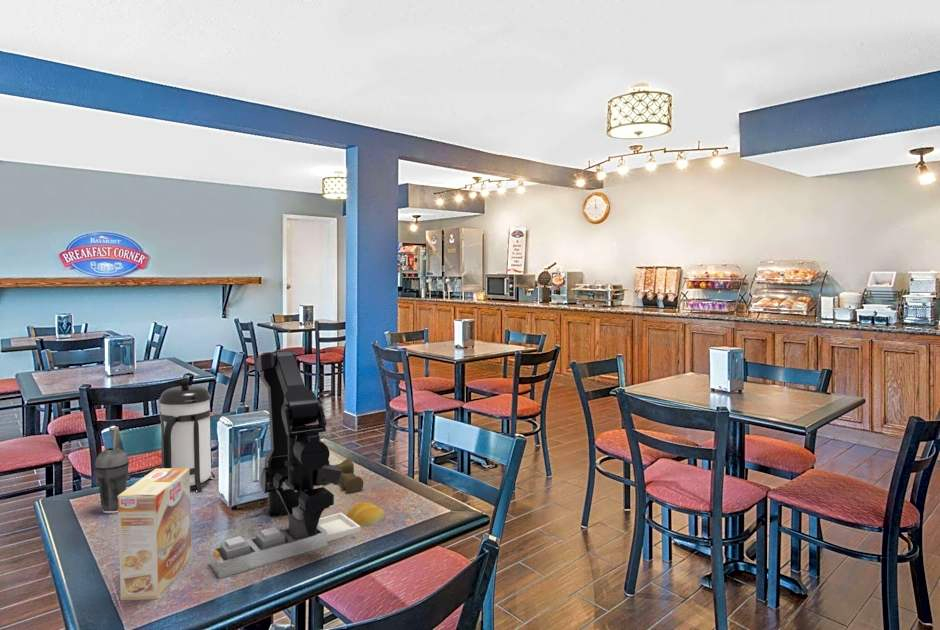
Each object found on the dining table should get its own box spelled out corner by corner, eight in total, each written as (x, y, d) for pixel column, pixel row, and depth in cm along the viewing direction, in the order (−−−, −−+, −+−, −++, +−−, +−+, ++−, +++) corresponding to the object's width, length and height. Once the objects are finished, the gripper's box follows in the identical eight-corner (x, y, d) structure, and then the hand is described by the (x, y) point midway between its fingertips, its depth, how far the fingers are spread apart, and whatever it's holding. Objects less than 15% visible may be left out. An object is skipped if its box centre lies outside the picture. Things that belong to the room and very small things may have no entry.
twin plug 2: (256, 553, 120) (255, 530, 119) (277, 547, 122) (276, 524, 122) (263, 562, 116) (263, 537, 116) (284, 555, 119) (284, 531, 119)
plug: (289, 544, 124) (288, 507, 123) (308, 538, 127) (308, 502, 126) (297, 551, 121) (296, 514, 120) (317, 545, 123) (316, 509, 123)
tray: (302, 530, 132) (302, 522, 132) (341, 519, 138) (341, 512, 138) (320, 546, 124) (320, 537, 124) (360, 534, 130) (360, 526, 130)
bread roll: (361, 532, 132) (361, 515, 131) (342, 519, 138) (342, 503, 138) (392, 522, 137) (392, 506, 137) (372, 510, 144) (372, 495, 143)
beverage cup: (88, 513, 140) (86, 432, 139) (117, 502, 147) (114, 425, 145) (109, 518, 137) (106, 435, 136) (137, 507, 144) (135, 428, 143)
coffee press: (144, 486, 158) (141, 378, 156) (204, 472, 170) (202, 371, 168) (166, 504, 146) (163, 387, 144) (229, 488, 158) (227, 379, 156)
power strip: (209, 566, 115) (209, 546, 115) (313, 536, 129) (313, 518, 129) (219, 581, 110) (219, 560, 109) (327, 547, 123) (327, 529, 123)
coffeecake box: (160, 601, 103) (157, 494, 101) (118, 603, 102) (114, 495, 101) (193, 560, 118) (191, 466, 116) (157, 561, 117) (154, 467, 116)
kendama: (338, 500, 151) (310, 476, 167) (371, 494, 156) (342, 471, 173) (338, 478, 150) (311, 456, 167) (372, 472, 156) (342, 452, 172)
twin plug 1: (220, 564, 115) (220, 539, 115) (243, 557, 118) (242, 533, 118) (227, 572, 112) (226, 547, 111) (250, 566, 115) (250, 541, 114)
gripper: (357, 460, 120) (357, 532, 121) (319, 439, 135) (319, 505, 136) (305, 471, 113) (306, 548, 114) (271, 448, 128) (272, 517, 129)
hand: (302, 527), depth 123 cm, fingers open, 9 cm apart
